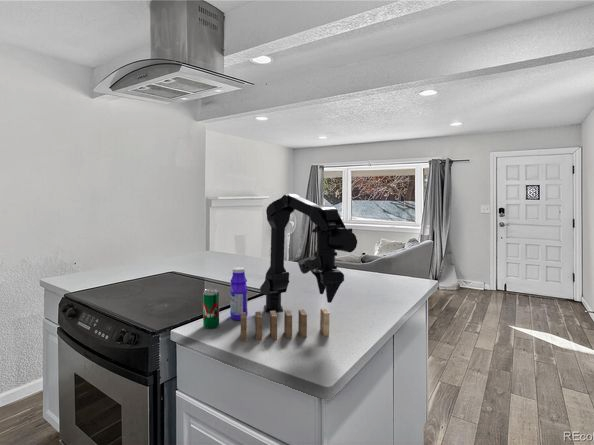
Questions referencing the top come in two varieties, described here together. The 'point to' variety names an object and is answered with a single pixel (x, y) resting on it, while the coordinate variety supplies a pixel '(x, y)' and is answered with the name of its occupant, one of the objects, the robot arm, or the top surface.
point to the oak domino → (324, 321)
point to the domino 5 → (302, 323)
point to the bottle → (238, 293)
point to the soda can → (210, 308)
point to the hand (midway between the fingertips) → (325, 298)
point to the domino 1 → (243, 326)
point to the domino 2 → (258, 325)
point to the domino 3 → (273, 324)
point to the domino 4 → (288, 323)
